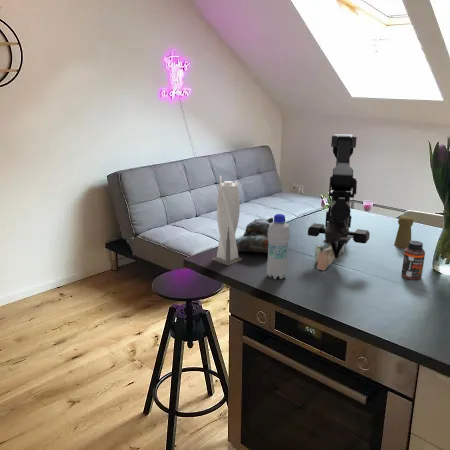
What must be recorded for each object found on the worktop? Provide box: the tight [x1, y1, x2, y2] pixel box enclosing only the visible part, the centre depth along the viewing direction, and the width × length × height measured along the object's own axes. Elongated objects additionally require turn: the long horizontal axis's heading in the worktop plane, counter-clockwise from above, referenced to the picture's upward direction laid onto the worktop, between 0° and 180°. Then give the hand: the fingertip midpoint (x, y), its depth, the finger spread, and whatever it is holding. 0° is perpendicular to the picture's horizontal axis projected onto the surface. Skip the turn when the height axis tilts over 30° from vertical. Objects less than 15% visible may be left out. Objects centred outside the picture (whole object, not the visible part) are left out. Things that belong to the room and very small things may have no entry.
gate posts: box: [314, 245, 345, 266], centre depth 170 cm, size 2×16×7 cm, turn 138°
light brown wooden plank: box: [316, 244, 342, 271], centre depth 167 cm, size 17×2×5 cm, turn 149°
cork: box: [393, 215, 414, 250], centre depth 183 cm, size 6×6×11 cm
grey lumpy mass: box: [236, 217, 274, 254], centre depth 176 cm, size 15×12×14 cm
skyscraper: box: [212, 175, 243, 266], centre depth 166 cm, size 8×8×28 cm
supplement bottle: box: [401, 240, 426, 281], centre depth 155 cm, size 6×6×11 cm
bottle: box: [266, 213, 291, 280], centre depth 153 cm, size 7×7×20 cm
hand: (336, 258), depth 165 cm, fingers closed
